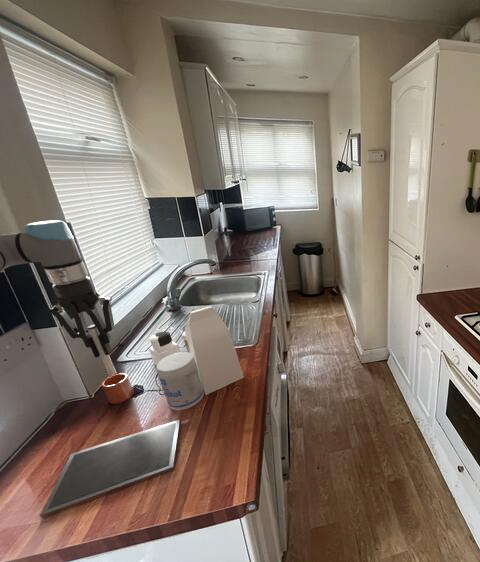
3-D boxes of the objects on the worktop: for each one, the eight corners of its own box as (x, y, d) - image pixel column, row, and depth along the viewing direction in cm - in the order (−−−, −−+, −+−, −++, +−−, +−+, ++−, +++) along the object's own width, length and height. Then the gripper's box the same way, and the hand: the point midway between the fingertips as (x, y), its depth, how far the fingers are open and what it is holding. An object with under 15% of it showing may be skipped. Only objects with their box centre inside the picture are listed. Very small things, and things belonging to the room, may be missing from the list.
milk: (205, 395, 96) (183, 323, 86) (196, 377, 104) (175, 309, 94) (244, 377, 104) (227, 309, 94) (232, 362, 112) (216, 297, 102)
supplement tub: (162, 412, 90) (146, 372, 84) (180, 390, 99) (167, 352, 93) (195, 411, 90) (182, 370, 85) (210, 388, 99) (199, 350, 93)
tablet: (41, 518, 64) (39, 515, 64) (72, 456, 77) (70, 453, 77) (174, 470, 73) (173, 466, 73) (181, 422, 87) (180, 418, 86)
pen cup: (107, 407, 93) (98, 389, 90) (113, 394, 98) (105, 376, 95) (132, 400, 95) (124, 382, 92) (136, 388, 100) (129, 370, 98)
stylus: (108, 377, 92) (86, 328, 86) (110, 373, 94) (88, 325, 87) (115, 375, 93) (94, 326, 86) (117, 371, 94) (96, 324, 88)
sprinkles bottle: (196, 360, 114) (186, 328, 108) (208, 359, 113) (199, 328, 108) (189, 367, 109) (178, 335, 104) (201, 367, 109) (191, 335, 104)
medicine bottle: (175, 354, 117) (166, 327, 113) (183, 360, 113) (174, 333, 109) (154, 364, 112) (143, 336, 107) (162, 371, 108) (152, 342, 103)
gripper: (25, 290, 75) (65, 368, 84) (100, 279, 81) (130, 353, 90) (40, 280, 82) (76, 354, 91) (109, 270, 87) (136, 340, 96)
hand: (103, 353), depth 90 cm, fingers closed on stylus, 2 cm apart
